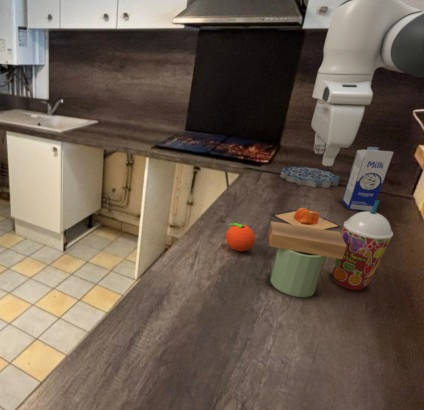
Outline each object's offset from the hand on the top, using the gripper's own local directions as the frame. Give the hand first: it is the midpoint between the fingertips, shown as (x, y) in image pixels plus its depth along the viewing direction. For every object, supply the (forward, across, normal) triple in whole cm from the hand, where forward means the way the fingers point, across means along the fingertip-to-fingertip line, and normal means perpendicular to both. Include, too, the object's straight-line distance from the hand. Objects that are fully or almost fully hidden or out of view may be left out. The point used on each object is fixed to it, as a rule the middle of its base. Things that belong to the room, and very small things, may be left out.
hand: (322, 158), depth 75 cm
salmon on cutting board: (+27, -31, +7) cm, 42 cm away
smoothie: (+27, +2, +11) cm, 30 cm away
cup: (+27, +7, -1) cm, 28 cm away
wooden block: (+17, +7, -1) cm, 19 cm away
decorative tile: (+27, -75, +13) cm, 81 cm away
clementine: (+27, -5, -13) cm, 30 cm away
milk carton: (+27, -49, +24) cm, 61 cm away
